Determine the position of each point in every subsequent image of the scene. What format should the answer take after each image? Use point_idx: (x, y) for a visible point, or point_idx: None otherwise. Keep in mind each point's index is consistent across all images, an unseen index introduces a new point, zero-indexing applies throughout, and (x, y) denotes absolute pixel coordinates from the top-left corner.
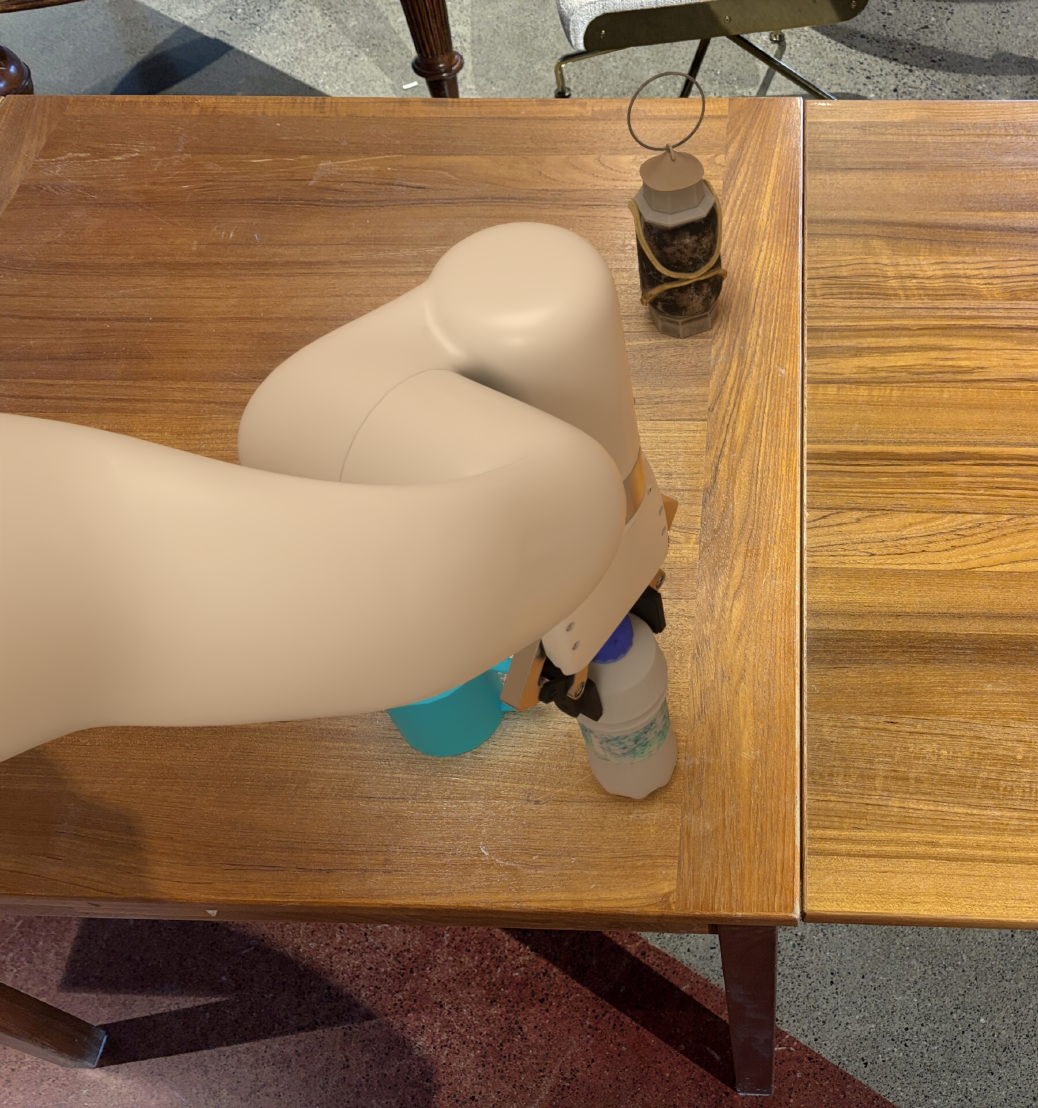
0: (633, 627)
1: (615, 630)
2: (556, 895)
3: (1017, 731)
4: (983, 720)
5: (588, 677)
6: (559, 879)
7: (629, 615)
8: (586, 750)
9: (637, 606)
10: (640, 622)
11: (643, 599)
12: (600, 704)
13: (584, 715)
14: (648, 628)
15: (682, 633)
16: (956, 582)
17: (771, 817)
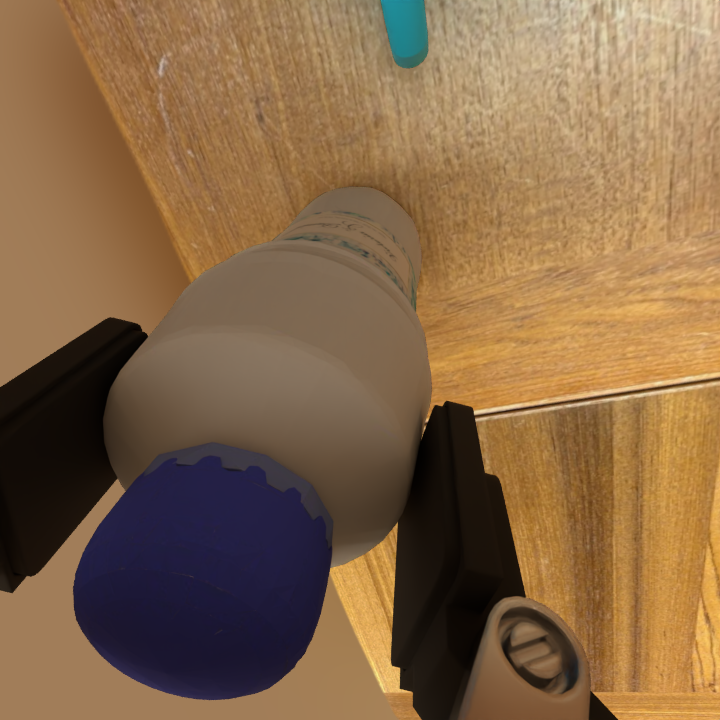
0: (334, 548)
1: (167, 692)
2: (162, 204)
3: None
4: None
5: (124, 470)
6: (181, 200)
7: (386, 513)
8: (301, 213)
9: (411, 552)
10: (371, 541)
11: (402, 637)
12: None
13: None
14: (362, 554)
15: (594, 240)
16: (688, 534)
17: None
